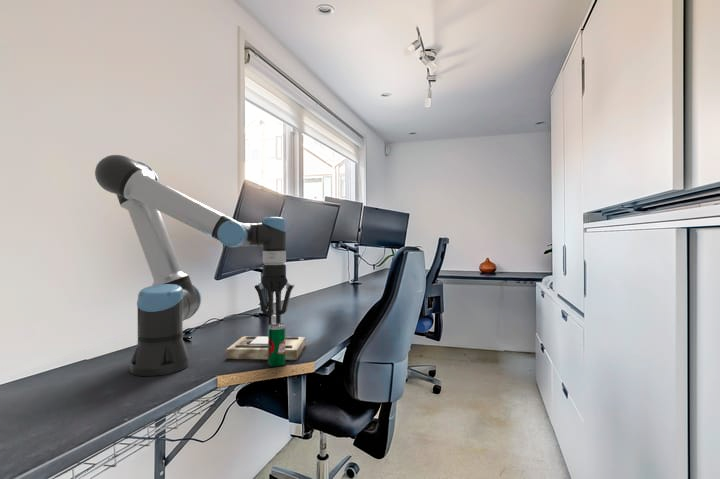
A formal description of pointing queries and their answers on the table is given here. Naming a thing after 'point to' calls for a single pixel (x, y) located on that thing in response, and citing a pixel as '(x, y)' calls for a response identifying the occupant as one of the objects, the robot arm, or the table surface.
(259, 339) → the shutter
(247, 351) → the socket board
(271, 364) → the soda can
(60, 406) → the table surface
